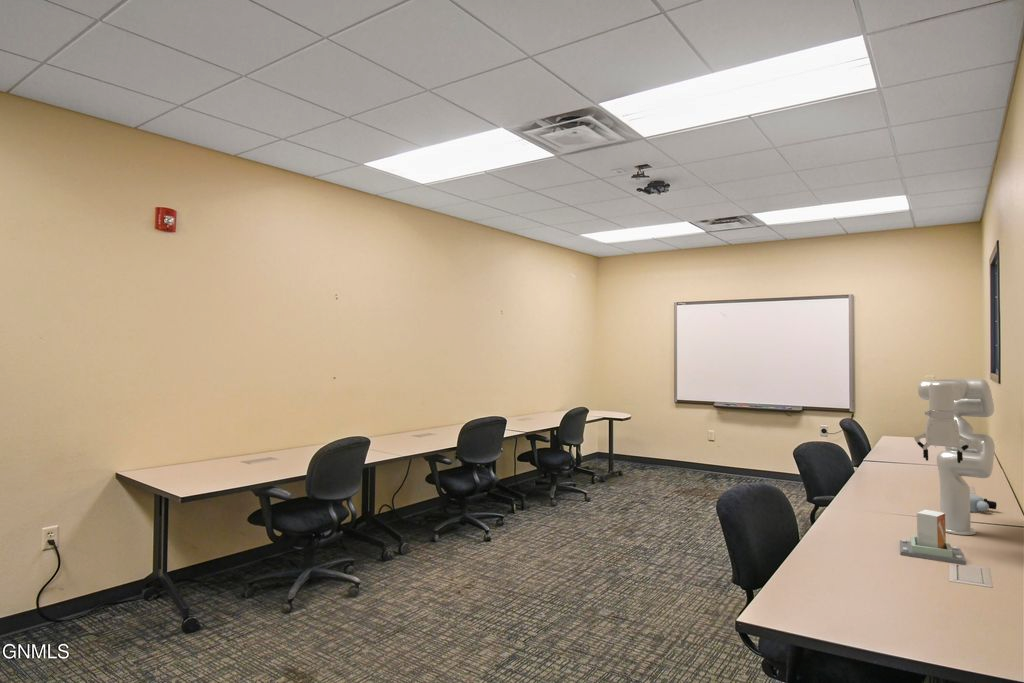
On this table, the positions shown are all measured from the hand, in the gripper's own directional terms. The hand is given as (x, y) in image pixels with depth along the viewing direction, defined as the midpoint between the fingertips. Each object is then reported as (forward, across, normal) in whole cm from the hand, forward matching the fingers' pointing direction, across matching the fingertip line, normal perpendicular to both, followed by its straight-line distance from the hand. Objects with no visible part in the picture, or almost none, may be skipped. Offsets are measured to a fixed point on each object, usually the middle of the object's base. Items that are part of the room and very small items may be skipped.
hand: (942, 461), depth 219 cm
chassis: (+30, -5, -16) cm, 35 cm away
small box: (+29, -5, -16) cm, 34 cm away
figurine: (+31, +13, +67) cm, 75 cm away
